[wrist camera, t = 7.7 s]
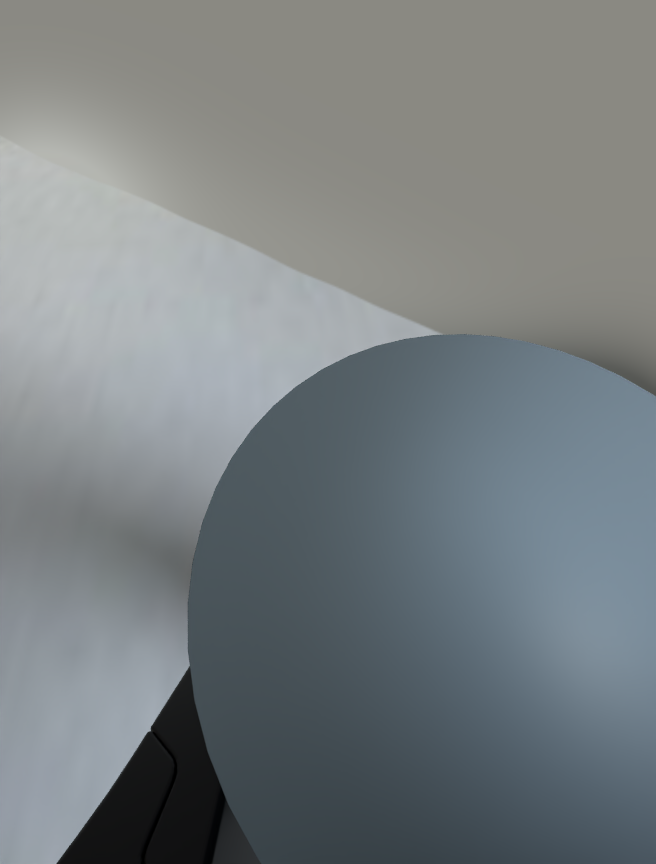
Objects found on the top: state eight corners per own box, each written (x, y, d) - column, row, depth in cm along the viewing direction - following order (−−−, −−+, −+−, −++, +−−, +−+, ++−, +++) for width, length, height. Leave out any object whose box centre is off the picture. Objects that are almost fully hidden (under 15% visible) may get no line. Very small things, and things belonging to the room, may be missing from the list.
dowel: (404, 755, 12) (940, 1364, 1) (280, 689, 13) (42, 764, 2) (445, 618, 14) (829, 434, 3) (333, 566, 15) (340, 282, 4)
